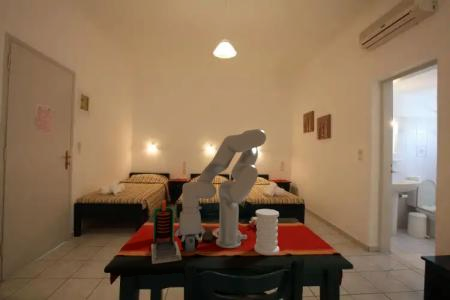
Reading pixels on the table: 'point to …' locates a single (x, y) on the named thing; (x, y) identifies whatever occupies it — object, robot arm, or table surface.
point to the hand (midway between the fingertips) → (189, 247)
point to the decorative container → (267, 232)
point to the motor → (163, 223)
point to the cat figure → (253, 222)
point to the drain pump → (189, 243)
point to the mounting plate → (165, 252)
